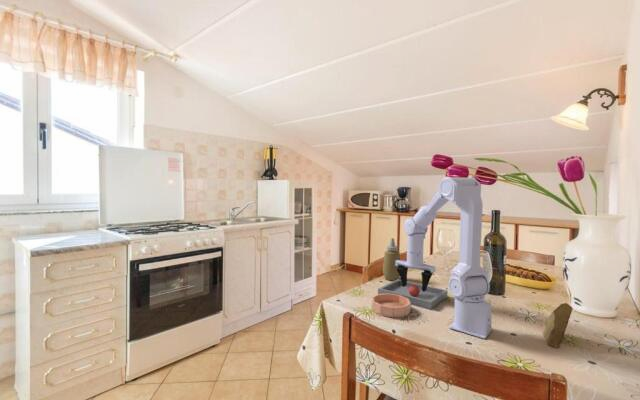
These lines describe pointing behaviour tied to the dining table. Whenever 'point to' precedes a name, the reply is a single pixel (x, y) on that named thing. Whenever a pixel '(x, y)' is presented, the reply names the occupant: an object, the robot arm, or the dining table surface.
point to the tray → (422, 300)
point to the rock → (557, 324)
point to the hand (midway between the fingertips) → (414, 288)
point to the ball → (414, 290)
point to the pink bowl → (391, 305)
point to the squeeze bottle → (391, 262)
